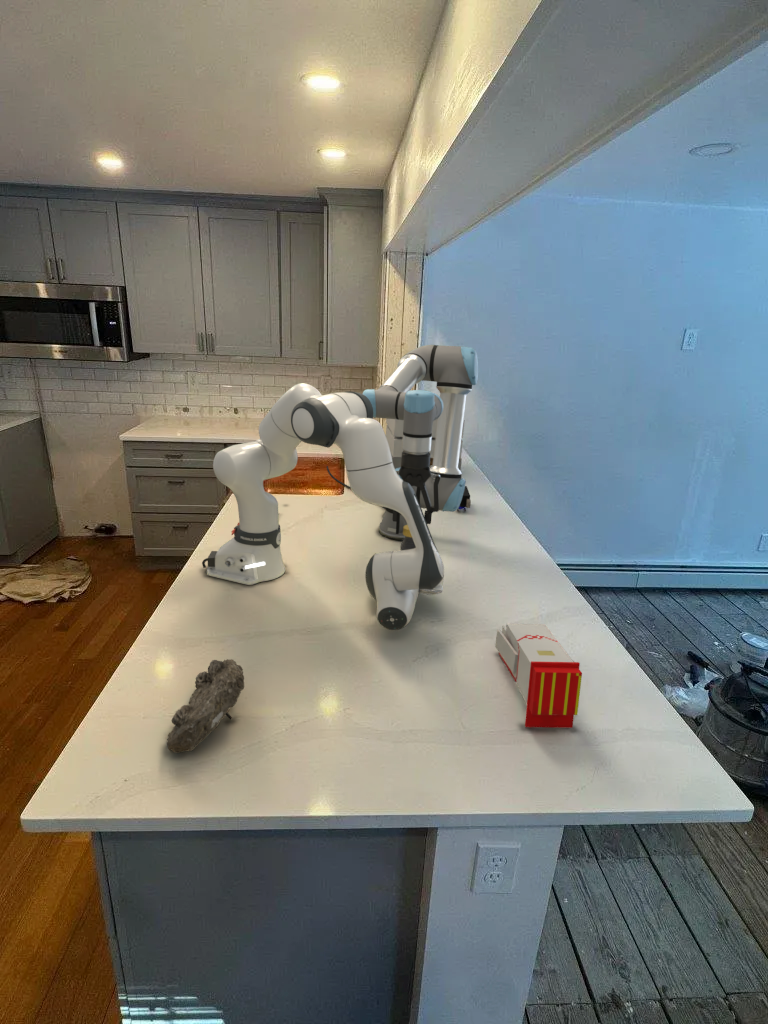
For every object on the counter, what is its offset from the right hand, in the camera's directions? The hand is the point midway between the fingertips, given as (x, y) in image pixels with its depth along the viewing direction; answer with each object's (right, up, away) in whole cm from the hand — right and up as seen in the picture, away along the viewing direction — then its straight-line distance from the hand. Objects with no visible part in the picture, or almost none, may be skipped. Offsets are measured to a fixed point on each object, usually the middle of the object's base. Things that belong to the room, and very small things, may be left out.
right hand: (411, 533), depth 155 cm
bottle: (-1, -16, +6) cm, 17 cm away
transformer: (+10, +25, +120) cm, 123 cm away
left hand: (0, -10, +4) cm, 11 cm away
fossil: (-40, -33, -47) cm, 70 cm away
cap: (0, +1, 0) cm, 1 cm away
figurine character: (+23, +7, +74) cm, 78 cm away
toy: (+24, -31, -33) cm, 52 cm away
